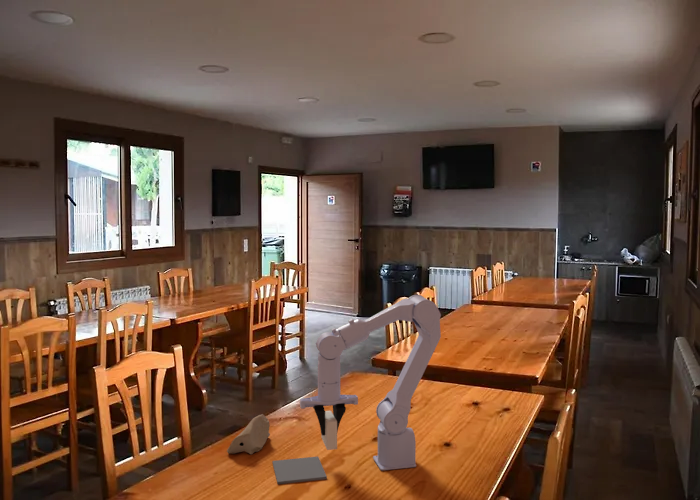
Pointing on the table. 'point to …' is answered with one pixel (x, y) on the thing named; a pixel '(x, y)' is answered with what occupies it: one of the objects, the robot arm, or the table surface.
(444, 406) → the table surface
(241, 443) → the grey animal figurine
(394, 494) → the table surface
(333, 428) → the block
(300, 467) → the mat
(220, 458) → the table surface
